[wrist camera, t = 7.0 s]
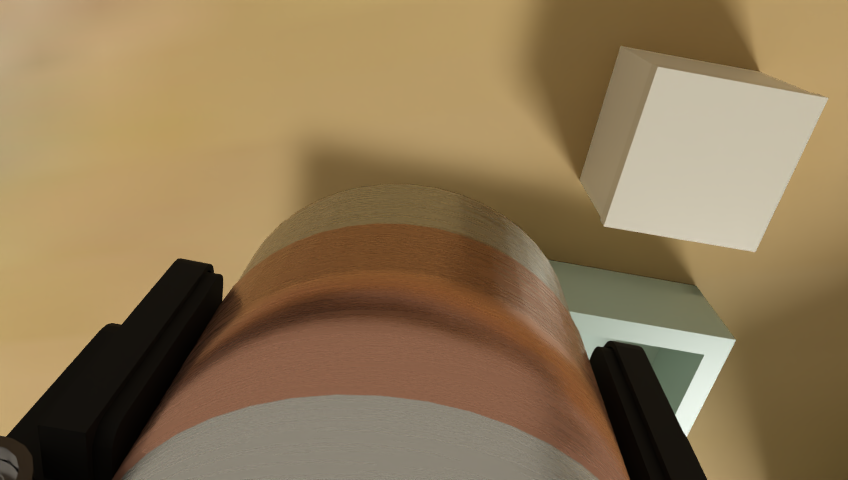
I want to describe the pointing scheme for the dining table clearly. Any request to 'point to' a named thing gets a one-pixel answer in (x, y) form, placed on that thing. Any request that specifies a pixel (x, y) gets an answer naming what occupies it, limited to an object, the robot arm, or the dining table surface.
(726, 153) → the grey block
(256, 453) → the clear brown jar
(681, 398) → the tote
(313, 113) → the dining table surface
